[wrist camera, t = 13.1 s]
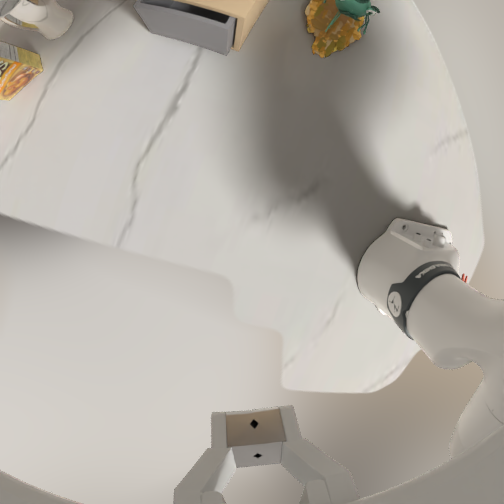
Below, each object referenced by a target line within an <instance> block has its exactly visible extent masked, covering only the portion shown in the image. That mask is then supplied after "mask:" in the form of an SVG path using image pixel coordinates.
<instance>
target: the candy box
mask: <svg viewBox="0 0 504 504" xmlns="http://www.w3.org/2000/svg"><path fill="white" fill-rule="evenodd" d="M42 71H43V68H42V64H41V60H40V55H38V54H36V53H33V52H30V51H28V50H25V49H22V48H20V47H17V46H14V45H11V44H8V43H5V42H3V41H0V100H11V99H12V98H13V97H14V96H15V95H16V94H17V93H18V92H19V91H20V90H21V89H22V88H23V87H24V86H26V85H27V84H28V83H29V82H30V81H31V80H32V79H33V78H35V77H36V76H37V75H38V74H40V73H41V72H42Z"/></svg>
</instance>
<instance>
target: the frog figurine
mask: <svg viewBox="0 0 504 504" xmlns="http://www.w3.org/2000/svg"><path fill="white" fill-rule="evenodd" d="M374 9H375V10H374ZM376 11H377V13H380V11H379V9H378V8H377V7H375V6H371V2H370V0H311V1H310V3H309V4H308V6H307V8H306V10H305V14H306V16H307V23H308V24H307V25H306V26H307V27H308V28H307V30H308V32H309V33H315V34H314V36H315V37H316V39H315V41H314V43H313V45H312V49H313V50H312V52H313V55H314V54H315V53H316V54H318V55H319V56H320V57H321V58H323V57H324V56H325V58H326V57H328V56H329V55H330V54H331V53H332V52H335V51H337V50H338V51H341V50H343V49H344V48H346V47H348V46H349V44H350V43H353V42H354V41H355V40H359V39H360V38H361V33H360V31H361V28H363V27H364V26H365V25H366V27H365V30H364V31H363V34H365V32H366V28H367V25H368V22H369V16H368V15H375V14H376ZM365 15H366V18H364V16H365ZM367 17H368V21H367ZM364 19H365V24H364V25H363V26H362V24H363V22H364ZM366 21H367V24H366ZM361 26H362V27H361Z"/></svg>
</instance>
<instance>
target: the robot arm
mask: <svg viewBox="0 0 504 504" xmlns="http://www.w3.org/2000/svg"><path fill="white" fill-rule="evenodd" d="M403 225H404V227H403ZM402 227H403V228H402ZM459 263H460V258H459V253H458V250H457V249H456V248H455V247H453V238H452V234H451V232H450V231H449V230H447V229H444V228H440V227H436V226H432V225H428V224H423V223H419V222H415V221H410V220H406V219H401V218H396V219H394V220H393V221H392V223H391V224H390V225H389V227H388V229H387V230H386V232H385V233H384V234H383V235H382V236H380V237H379V238H378V239H376V240H375V241H374V242H373V243H372V244H371V245H370V246H369V248H368V249H367V250H366V252H365V254H364V255H363V257H362V259H361V262H360V265H359V268H358V275H357V281H358V287H359V290H360V292H361V294H362V295H363V296H364V297H365V298H366V299H367V300H368V301H370V302H372V303H373V304H375V305H376V307H377V309H378V311H379V312H380V313H381V314H383V315H387V316H388V317H390V318H391V319H392V320H393V321H394V322H395V323H396V324H397V325H398V326H399V328H400V329H401V330H402V332H403V333H404V334H405V335H407V336H408V337H409V338H410V339H412V340H415V342H416V343H417V344H418V345H419V346H420V348H421V349H422V350H423V351H424V352H425V353H426V355H427V356H428V357H429V359H430V360H431V361H432V362H433V363H434V364H435V365H436V366H438V367H440V368H443V369H457V368H461V367H463V366H465V365H467V364H469V363H470V362H472V361H473V362H475V363H476V364H477V365H479V366H480V367H481V369H482V370H483V373H484V378H483V380H482V381H481V383H480V385H479V386H478V388H477V390H476V391H475V393H474V395H473V396H472V398H471V400H470V401H469V403H468V404H467V406H466V407H465V409H464V410H463V412H462V414H461V416H460V418H459V420H458V423H457V425H456V427H455V430H454V432H453V434H452V437H451V439H450V444H449V452H450V456H451V460H449V461H447V462H445V463H443V464H442V465H440V466H438V467H436V468H434V469H432V470H430V471H428V472H426V473H424V474H422V475H420V476H418V477H416V478H413V479H411V480H409V481H407V482H404V483H402V484H400V485H397V486H395V487H392V488H390V489H387V490H384V491H382V492H379V493H377V494H374V495H371V496H368V497H365V498H362V499H360V498H359V495H358V492H357V489H356V487H355V484H354V481H353V478H352V475H351V473H350V471H349V470H348V469H347V468H345V467H344V466H342V465H341V464H339V463H338V462H337V461H335V460H334V459H333V458H331V457H330V456H329V455H327V454H326V453H324V452H323V451H322V450H320V449H319V448H318V447H316V446H315V445H314V444H313V443H311V442H310V441H309V440H308V439H306V438H305V439H302V437H301V433H300V430H299V426H298V422H297V418H296V414H295V411H294V407H293V406H292V405H287V406H281V407H271V408H263V409H255V410H248V411H233V412H213V413H212V415H211V443H212V444H211V446H212V447H211V448H208V449H207V450H206V451H205V452H204V454H203V455H202V456H201V457H200V459H199V460H198V461H197V462H196V464H195V465H194V466H193V467H192V469H191V470H190V471H189V472H188V474H187V475H186V476H185V477H184V478H183V480H182V481H181V482H180V483H179V485H178V486H177V487H176V488H175V489H174V504H226V502H225V500H224V498H223V495H222V492H223V490H224V489H225V487H226V485H227V484H228V482H229V481H230V479H231V477H232V475H233V474H234V472H235V471H236V468H238V467H249V466H258V464H259V465H269V464H278V463H281V465H282V466H283V467H284V468H285V469H286V470H287V471H288V472H289V473H290V474H291V475H292V476H293V477H294V478H296V479H297V480H298V481H299V482H300V483H301V484H302V485H303V486H304V487H305V488H304V491H303V494H302V497H301V500H300V502H299V504H504V300H499V299H493V298H490V297H488V296H485V295H484V294H482V293H481V292H479V291H477V290H476V289H474V288H472V287H471V286H469V285H468V284H467V283H466V281H467V276H466V278H465V281H464V274H463V275H462V278H460V277H459V275H458V271H459ZM0 504H82V503H79V502H76V501H72V500H69V499H66V498H63V497H60V496H58V495H55V494H52V493H50V492H47V491H44V490H42V489H39V488H37V487H35V486H32V485H30V484H28V483H25V482H23V481H21V480H19V479H17V478H15V477H13V476H11V475H9V474H7V473H5V472H3V471H1V470H0Z"/></svg>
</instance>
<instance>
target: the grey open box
mask: <svg viewBox="0 0 504 504" xmlns="http://www.w3.org/2000/svg"><path fill="white" fill-rule="evenodd" d="M133 7H134V8H135V10H136V11H137V13H138V14H139V16H140V17H141V18H142V20H143V21H144V23H145V24H146V26H147V27H148V29H149V30H150V32H151V33H153V34H157V35H161V36H165V37H169V38H173V39H176V40H180V41H183V42H187V43H190V44H193V45H197V46H200V47H203V48H206V49H209V50H212V51H215V52H218V53H221V54H223V55H226V56H227V54H228V52H229V51H230V49H231V47H232V45H233V43H234V41H235V34H236V26H237V18H234V17H231V16H228V15H225V14H222V13H219V12H216V11H212V10H209V9H206V8H202V7H198V6H195V5H191V4H187V3H182V2H178V1H174V0H137V1H136V2H135V4H134V5H133Z"/></svg>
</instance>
